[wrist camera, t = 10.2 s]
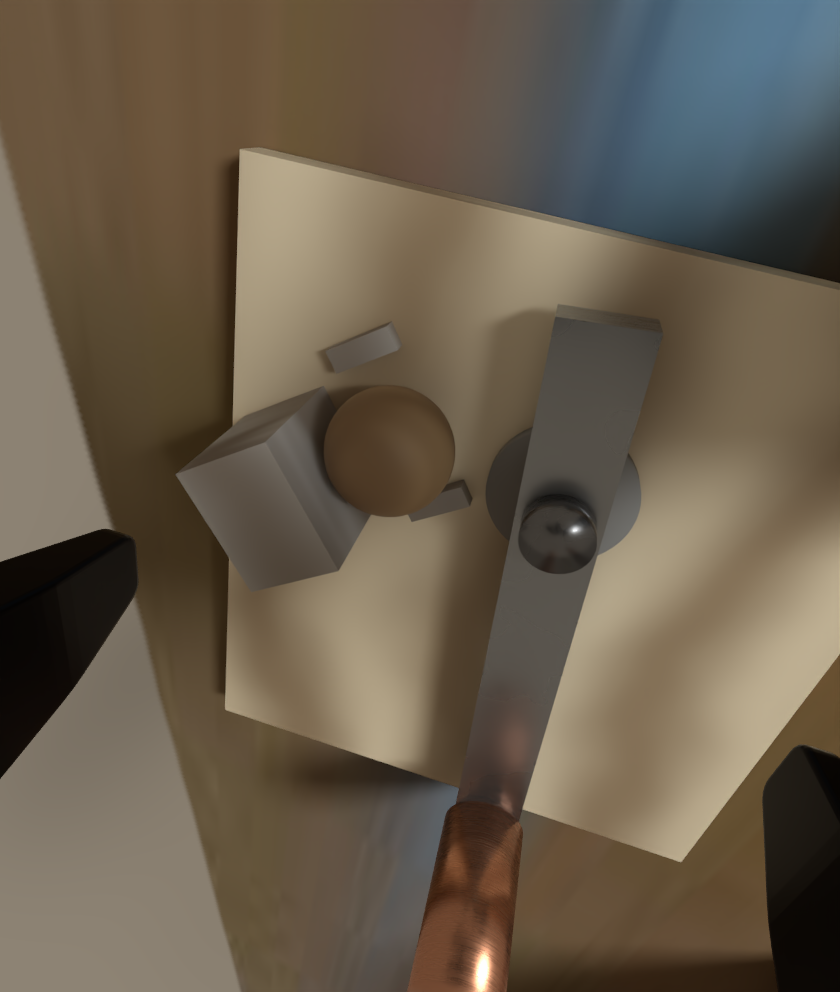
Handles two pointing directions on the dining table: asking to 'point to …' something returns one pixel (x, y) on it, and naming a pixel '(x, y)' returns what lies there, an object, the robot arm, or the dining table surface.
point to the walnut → (389, 451)
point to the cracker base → (496, 485)
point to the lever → (532, 636)
